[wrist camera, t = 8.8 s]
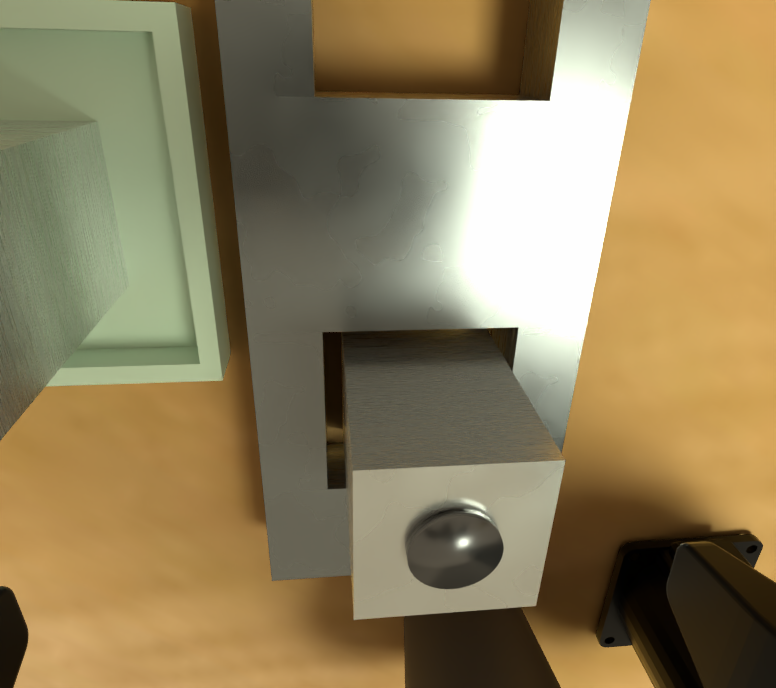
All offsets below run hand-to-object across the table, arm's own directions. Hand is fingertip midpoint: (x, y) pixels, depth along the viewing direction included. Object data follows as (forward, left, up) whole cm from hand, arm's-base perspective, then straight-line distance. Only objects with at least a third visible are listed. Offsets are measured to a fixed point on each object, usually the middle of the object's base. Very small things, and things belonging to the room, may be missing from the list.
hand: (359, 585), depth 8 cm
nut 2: (-4, -2, -12) cm, 13 cm away
